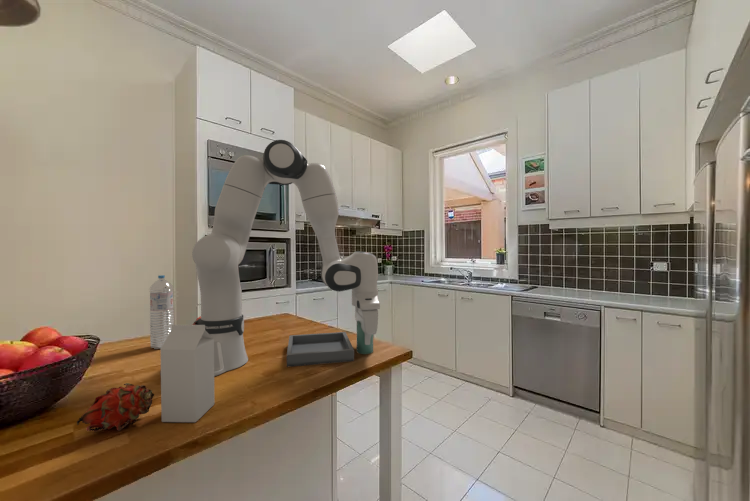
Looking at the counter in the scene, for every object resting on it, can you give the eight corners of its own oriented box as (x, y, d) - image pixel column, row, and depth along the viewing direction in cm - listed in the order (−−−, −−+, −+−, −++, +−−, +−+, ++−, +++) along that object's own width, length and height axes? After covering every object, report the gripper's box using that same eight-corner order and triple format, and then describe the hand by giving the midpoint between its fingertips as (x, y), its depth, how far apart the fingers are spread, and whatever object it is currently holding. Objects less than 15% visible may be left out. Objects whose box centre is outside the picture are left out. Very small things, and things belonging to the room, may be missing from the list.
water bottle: (157, 343, 112) (156, 274, 111) (177, 342, 113) (176, 274, 112) (146, 350, 105) (144, 276, 105) (167, 349, 106) (166, 276, 105)
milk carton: (195, 423, 62) (194, 329, 62) (161, 422, 63) (159, 329, 62) (214, 404, 70) (213, 320, 69) (183, 404, 70) (182, 320, 69)
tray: (286, 367, 91) (286, 355, 91) (289, 345, 110) (289, 335, 110) (354, 361, 95) (354, 349, 95) (345, 341, 115) (345, 331, 115)
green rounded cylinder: (358, 354, 101) (358, 324, 101) (355, 349, 106) (355, 320, 106) (374, 353, 102) (374, 323, 102) (371, 347, 108) (371, 319, 107)
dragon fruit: (160, 420, 66) (85, 457, 57) (148, 388, 70) (75, 418, 61) (161, 399, 62) (79, 434, 53) (147, 366, 66) (69, 394, 57)
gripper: (350, 294, 113) (350, 332, 114) (361, 305, 93) (361, 351, 94) (367, 294, 115) (367, 331, 115) (381, 305, 95) (381, 349, 95)
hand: (364, 340), depth 104 cm, fingers open, 6 cm apart
